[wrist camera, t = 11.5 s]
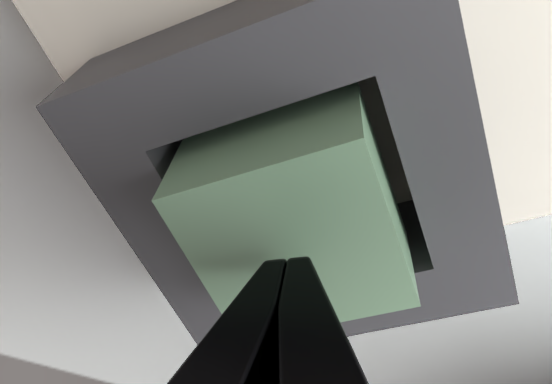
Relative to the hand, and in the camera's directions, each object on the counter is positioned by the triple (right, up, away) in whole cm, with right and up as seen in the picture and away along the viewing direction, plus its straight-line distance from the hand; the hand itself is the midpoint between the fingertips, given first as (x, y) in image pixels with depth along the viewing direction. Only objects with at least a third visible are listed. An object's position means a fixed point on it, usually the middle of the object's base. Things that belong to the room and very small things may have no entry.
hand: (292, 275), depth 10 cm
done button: (0, +2, +2) cm, 3 cm away
